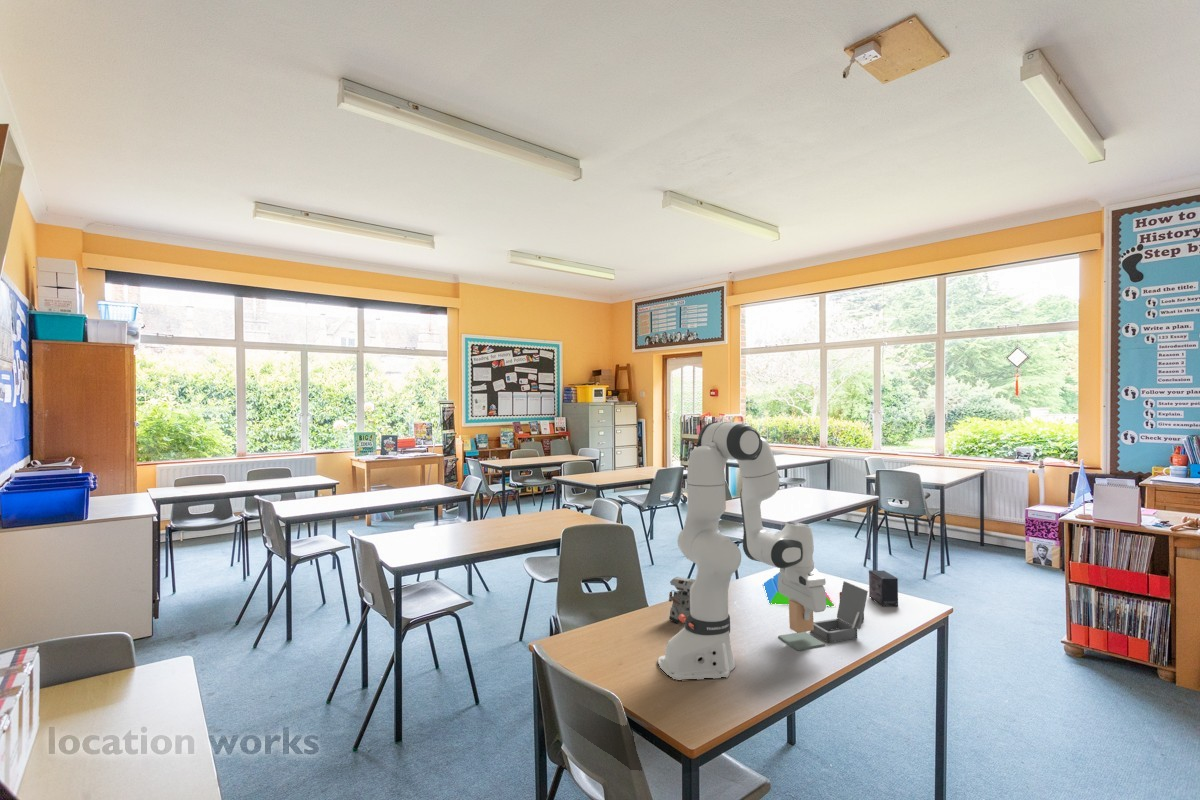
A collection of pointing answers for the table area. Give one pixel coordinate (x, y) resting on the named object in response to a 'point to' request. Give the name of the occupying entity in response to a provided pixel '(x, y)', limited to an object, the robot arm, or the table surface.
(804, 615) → the robot arm
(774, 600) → the pyramid toy
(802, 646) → the rubber mat
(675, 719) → the table surface
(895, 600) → the small box
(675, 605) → the figurine
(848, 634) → the equipment case
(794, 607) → the block
